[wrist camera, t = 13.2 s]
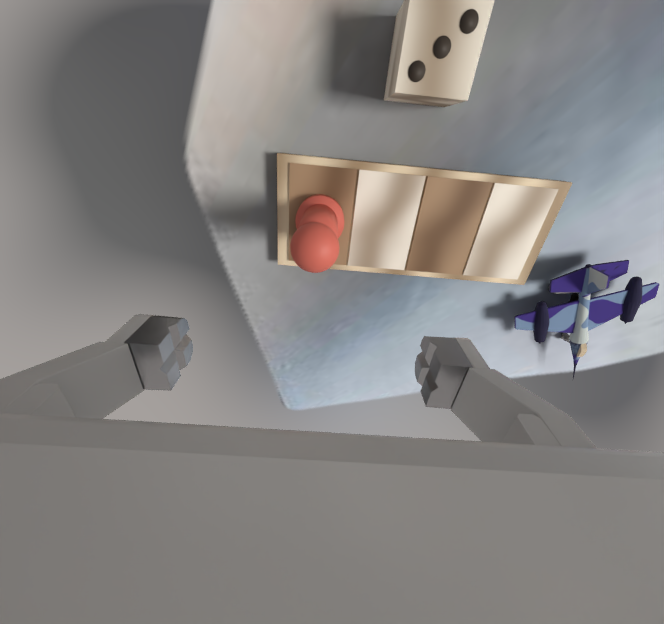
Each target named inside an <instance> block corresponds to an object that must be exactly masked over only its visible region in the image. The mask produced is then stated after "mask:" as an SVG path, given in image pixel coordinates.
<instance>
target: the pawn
mask: <svg viewBox="0 0 664 624" xmlns="http://www.w3.org/2000/svg"><path fill="white" fill-rule="evenodd" d="M295 224H296V228H297V230H296V232H295V233H294V234H293V236H292V239H291V243H290V251H291V255H292V258H293V260H294V261H295V263H296V264H297V265H298V266H299V267H300V268H301V269H303V270H305V271H308V272H312V273H318V272H322V271H325V270H327V269H329V268H330V267H331V266H332V265H333V264H334V263H335V261H336V260H337V258H338V255H339V248H340V247H339V241H338V238H339V237H340V235H341V234H342V232H343V229H344V214H343V210H342V208H341V206H340V205H339V203H338V202H337V201H336V200H335V199H333V198H332V197H330V196H327V195H323V194H316V195H312V196H310V197H308V198H307V199H305V200H304V201H303V202H302V204H301V205H300V207H299V209H298V211H297V213H296V219H295Z"/></svg>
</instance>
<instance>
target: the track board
mask: <svg viewBox="0 0 664 624" xmlns="http://www.w3.org/2000/svg"><path fill="white" fill-rule="evenodd" d="M571 185H572V183H571V182H566V181H558V180H548V179H538V178H528V177H518V176H508V175H498V174H488V173H478V172H467V171H457V170H447V169H437V168H427V167H417V166H407V165H397V164H387V163H377V162H367V161H357V160H347V159H337V158H327V157H317V156H307V155H297V154H287V153H277V220H278V265H290V266H298V265H297V264H296V263H295V261H294V260H293V258H292V255H291V251H290V243H291V239H292V236H293V234H294V233H295V232H296V230H297V228H296V224H295V219H296V213H297V211H298V209H299V207H300V205H301V204H302V202H303V201H304V200H305V199H307V198H308V197H310V196H312V195H316V194H323V195H327V196H330V197H332V198H333V199H335V200H336V201H337V202H338V203H339V205H340V206H341V208H342V210H343V214H344V229H343V232H342V234H341V235H340V237H339V238H338V241H339V247H340V248H339V255H338V258H337V260H336V261H335V263H334V264H333V265H332V266H331V267H330V268H329V269H339V270H351V271H363V272H375V273H387V274H399V275H411V276H424V277H436V278H448V279H460V280H472V281H484V282H496V283H508V284H520V285H524V284H525V282H526V280H527V278H528V276H529V274H530V271H531V269H532V267H533V265H534V263H535V261H536V259H537V257H538V255H539V252H540V250H541V248H542V246H543V244H544V242H545V240H546V238H547V236H548V233H549V231H550V229H551V227H552V225H553V223H554V221H555V219H556V217H557V214H558V212H559V210H560V208H561V206H562V204H563V202H564V200H565V198H566V195H567V193H568V191H569V189H570V187H571Z"/></svg>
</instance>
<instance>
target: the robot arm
mask: <svg viewBox="0 0 664 624" xmlns="http://www.w3.org/2000/svg"><path fill="white" fill-rule="evenodd" d="M188 330H189V326H188V322H187V320H186V319H185V318H178V317H167V316H156V315H155V316H153V315H144V314H139V315H135V316H134V317H132V318H131V319H130V320H129V321H128V322H127V323H126V324H125V325H123V326H122V327H121V328H120V329H119V330H118V331H117V332H116V333H115V334H113V335H112V336H111V337H110V338H109V339H108V340H107V341H105V342H98V343H95V344H92V345H90V346H87V347H85V348H82V349H80V350H76V351H74V352H71V353H68V354H66V355H63V356H61V357H58V358H55V359H53V360H50V361H47V362H45V363H42V364H40V365H37V366H34V367H31V368H29V369H26V370H23V371H21V372H18V373H15V374H13V375H10V376H7V377H5V378H2V379H0V624H664V452H648V451H632V450H615V449H598V448H596V446H595V445H594V444H593V443H592V442H591V441H590V439H589V438H588V437H587V436H586V435H585V433H584V432H583V431H582V430H581V429H580V427H579V426H578V425H577V424H576V423H575V422H574V420H573V419H572V418H571V417H570V416H569V415H567V414H566V413H564V412H563V411H561V410H559V409H558V408H556V407H555V406H553V405H551V404H550V403H548V402H546V401H545V400H543V399H542V398H540V397H538V396H537V395H535V394H534V393H532V392H530V391H529V390H527V389H525V388H524V387H522V386H521V385H519V384H517V383H515V382H514V381H513V380H511V379H509V378H508V377H506V376H504V375H503V374H501V373H500V372H498V371H496V370H495V369H490V368H489V367H488V365H487V364H486V362H485V361H484V359H483V358H482V356H481V355H480V353H479V352H478V350H477V349H476V348H475V346H474V345H473V343H472V342H471V340H469V339H468V338H446V337H429V336H424V338H423V339H422V342H421V345H420V346H421V349H422V352H421V353H420V354H419V355H417V358H416V362H415V376H416V379H417V382H418V383H419V384H421V385H422V389H421V394H422V397H423V400H424V403H425V405H426V407H434V408H446V409H451V411H452V412H453V413H454V414H455V415H456V416H457V417H458V418H459V419H460V420H461V421H462V422H463V423H464V424H465V425H466V426H467V427H468V428H469V429H470V430H471V431H472V432H473V433H474V434H475V435H476V436H477V437H478V438H479V439H480V440H481V441H482V442H481V441H464V440H445V439H428V438H412V437H411V438H410V437H396V436H379V435H361V434H346V433H331V432H314V431H313V432H312V431H296V430H280V429H262V428H245V427H228V426H212V425H195V424H177V423H161V422H144V421H126V420H109V419H103V418H104V417H106V416H107V415H109V414H110V413H112V412H113V411H114V410H116V409H118V408H119V407H120V406H122V405H123V404H125V403H126V402H128V401H129V400H131V399H132V398H134V397H135V396H137V395H138V394H140V393H141V392H142V391H144V390H143V389H148V390H172V388H173V387H174V385H175V383H176V382H177V381H178V379H179V377H180V376H181V375H180V371H179V370H181V369H183V368H184V367H186V366H187V365H188V363H189V361H190V360H191V356H192V352H193V345H192V340H191V339H190V338H189V337H188V336H187V335H186V333H187V331H188Z"/></svg>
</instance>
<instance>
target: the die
mask: <svg viewBox="0 0 664 624" xmlns="http://www.w3.org/2000/svg"><path fill="white" fill-rule="evenodd" d="M493 4H494V0H404V2H403V4H402V6H401V8H400V10H399V11H398V13H397V15H396V20H395V27H394V34H393V41H392V47H391V54H390V61H389V68H388V75H387V81H386V88H385V95H384V100H385V101H394V102H403V103H412V104H420V105H429V106H438V107H446V106H450V105H453V104H457V103H461V102H464V101H468V98H469V94H470V90H471V86H472V83H473V79H474V75H475V71H476V68H477V64H478V60H479V56H480V53H481V49H482V45H483V42H484V38H485V34H486V30H487V27H488V23H489V19H490V15H491V12H492V8H493Z"/></svg>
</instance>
